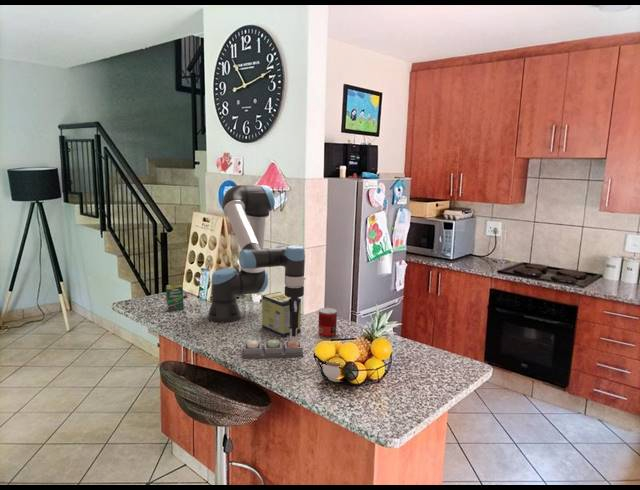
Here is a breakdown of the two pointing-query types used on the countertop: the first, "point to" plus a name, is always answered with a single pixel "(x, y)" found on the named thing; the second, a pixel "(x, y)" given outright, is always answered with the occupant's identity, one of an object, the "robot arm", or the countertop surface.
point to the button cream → (252, 344)
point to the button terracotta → (293, 345)
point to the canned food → (327, 322)
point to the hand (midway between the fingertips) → (293, 342)
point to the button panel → (273, 351)
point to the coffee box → (174, 297)
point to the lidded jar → (332, 370)
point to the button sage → (273, 344)
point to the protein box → (278, 314)
